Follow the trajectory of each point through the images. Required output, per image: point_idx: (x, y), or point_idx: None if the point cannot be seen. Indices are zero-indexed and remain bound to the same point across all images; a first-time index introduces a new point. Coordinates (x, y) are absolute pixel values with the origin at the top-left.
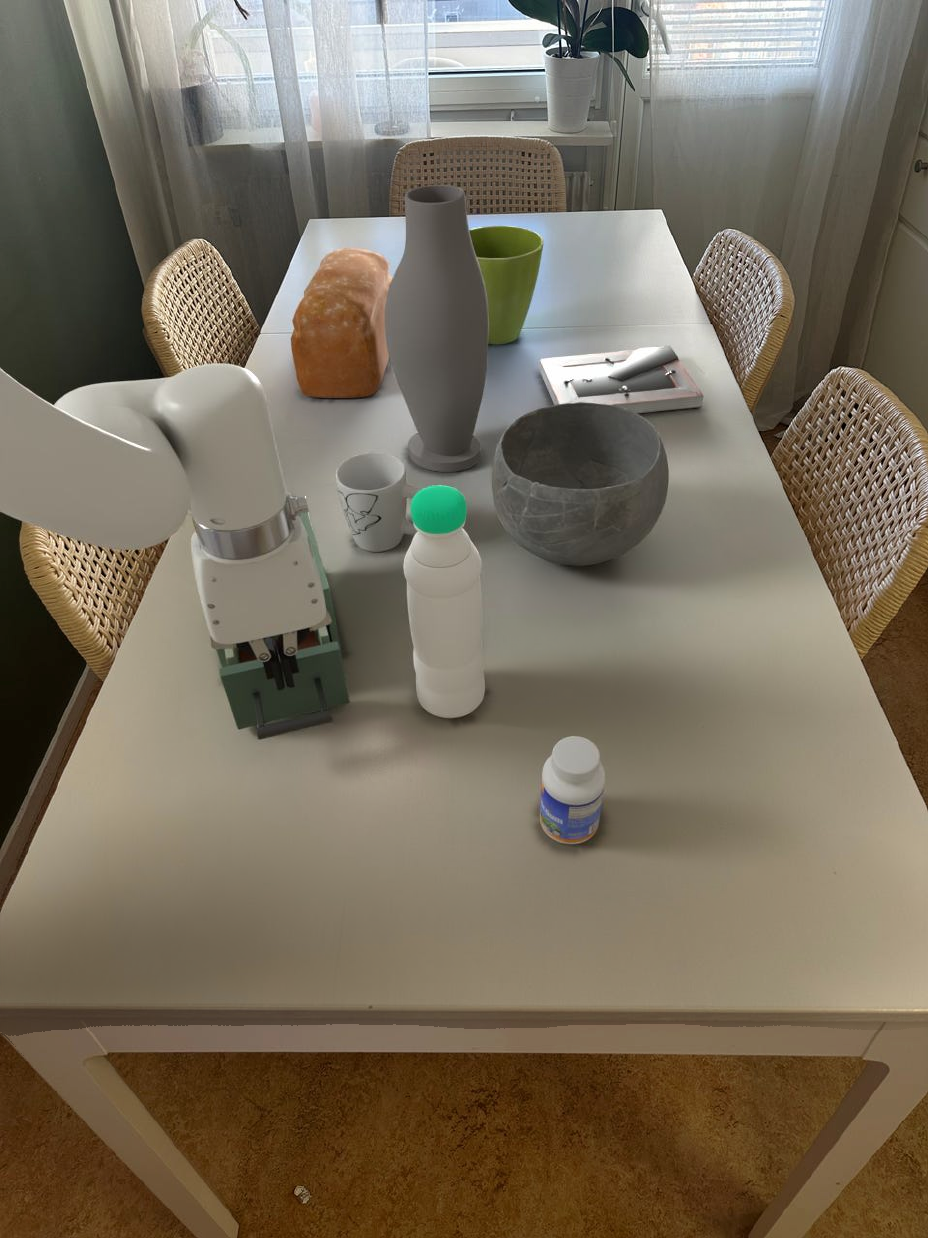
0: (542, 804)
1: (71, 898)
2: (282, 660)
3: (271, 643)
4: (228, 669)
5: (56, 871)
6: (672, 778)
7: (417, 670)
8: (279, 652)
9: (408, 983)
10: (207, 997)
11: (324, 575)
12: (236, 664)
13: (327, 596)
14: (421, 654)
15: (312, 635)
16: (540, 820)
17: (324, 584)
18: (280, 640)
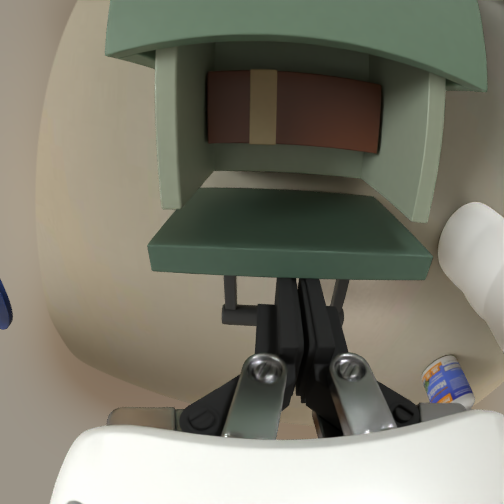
0: (432, 392)
1: (76, 322)
2: (301, 402)
3: (291, 392)
4: (168, 257)
5: (58, 298)
6: (492, 348)
7: (472, 284)
8: (303, 382)
9: (296, 419)
10: (180, 399)
11: (482, 39)
12: (187, 249)
13: (464, 87)
14: (491, 320)
15: (374, 97)
16: (426, 373)
17: (480, 69)
18: (318, 397)
